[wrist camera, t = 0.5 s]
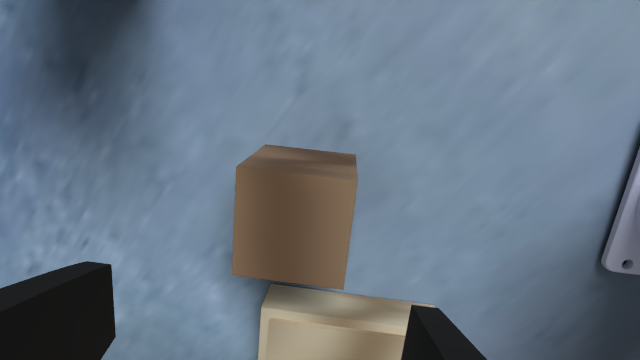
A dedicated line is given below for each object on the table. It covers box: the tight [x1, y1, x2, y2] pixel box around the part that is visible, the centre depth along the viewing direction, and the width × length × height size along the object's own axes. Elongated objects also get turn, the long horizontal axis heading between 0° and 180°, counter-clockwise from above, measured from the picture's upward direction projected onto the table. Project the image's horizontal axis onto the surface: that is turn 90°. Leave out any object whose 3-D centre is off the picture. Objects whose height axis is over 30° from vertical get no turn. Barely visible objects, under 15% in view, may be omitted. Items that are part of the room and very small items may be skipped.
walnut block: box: [232, 145, 358, 290], centre depth 16 cm, size 4×4×5 cm
